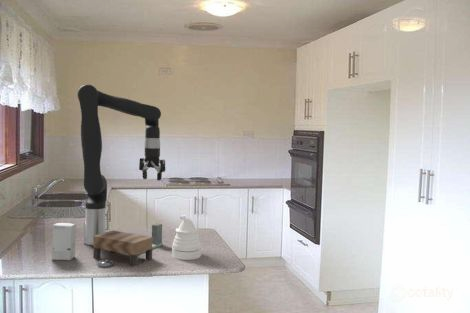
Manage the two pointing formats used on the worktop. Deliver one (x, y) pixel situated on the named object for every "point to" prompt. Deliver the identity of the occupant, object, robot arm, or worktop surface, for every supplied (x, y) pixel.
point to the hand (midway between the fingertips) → (152, 179)
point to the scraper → (156, 236)
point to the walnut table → (123, 244)
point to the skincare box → (63, 241)
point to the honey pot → (186, 241)
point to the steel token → (105, 263)
